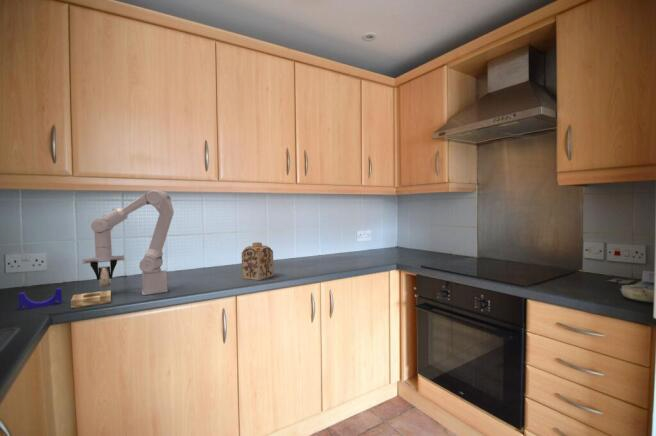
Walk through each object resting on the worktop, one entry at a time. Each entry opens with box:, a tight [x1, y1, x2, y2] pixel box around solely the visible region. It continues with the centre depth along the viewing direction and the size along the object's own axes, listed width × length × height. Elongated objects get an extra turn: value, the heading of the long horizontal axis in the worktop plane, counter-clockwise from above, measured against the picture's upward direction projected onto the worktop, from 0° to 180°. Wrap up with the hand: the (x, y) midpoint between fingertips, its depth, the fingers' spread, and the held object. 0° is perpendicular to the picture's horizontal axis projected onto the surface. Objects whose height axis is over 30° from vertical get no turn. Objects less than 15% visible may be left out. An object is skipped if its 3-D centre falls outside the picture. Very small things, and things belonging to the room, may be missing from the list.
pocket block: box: [70, 289, 112, 310], centre depth 127 cm, size 12×10×3 cm
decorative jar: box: [241, 241, 275, 281], centre depth 168 cm, size 12×12×18 cm
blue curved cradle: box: [18, 286, 63, 311], centre depth 125 cm, size 12×4×6 cm, turn 127°
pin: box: [98, 265, 112, 288], centre depth 139 cm, size 4×4×8 cm
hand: (104, 278), depth 139 cm, fingers closed on pin, 4 cm apart
